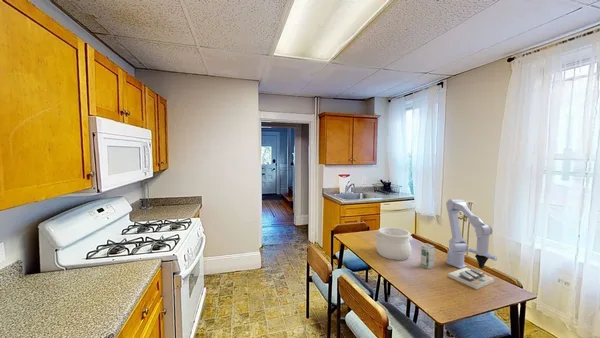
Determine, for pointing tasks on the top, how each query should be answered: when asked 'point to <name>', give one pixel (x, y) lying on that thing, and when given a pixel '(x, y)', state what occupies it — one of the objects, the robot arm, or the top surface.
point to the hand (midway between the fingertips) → (481, 267)
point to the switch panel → (475, 282)
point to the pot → (393, 243)
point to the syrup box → (427, 255)
